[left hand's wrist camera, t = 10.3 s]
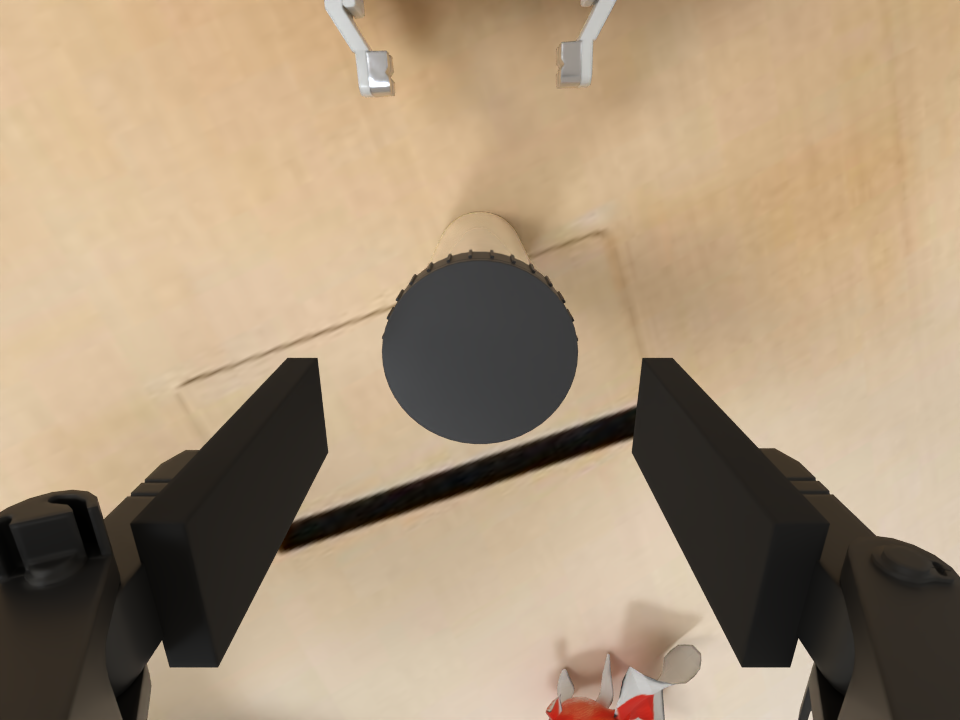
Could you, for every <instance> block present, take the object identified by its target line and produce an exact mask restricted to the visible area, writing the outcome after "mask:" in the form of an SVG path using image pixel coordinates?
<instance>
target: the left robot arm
mask: <svg viewBox="0 0 960 720" xmlns="http://www.w3.org/2000/svg"><path fill="white" fill-rule="evenodd" d="M327 454H328V446H327V437H326V428H325V420H324V411H323V402H322V393H321V385H320V376H319V367H318V358H287V359H286V360H285V361H284V362H283V363H282V364H281V365H280V366H279V367H278V369H277V370H276V371H275V372H274V373H273V374H272V375H271V376H270V377H269V378H268V379H267V380H266V381H265V382H264V383H263V384H262V385H261V386H260V387H259V388H258V389H257V391H256V392H255V393H254V394H253V395H252V396H251V397H250V398H249V399H248V400H247V401H246V402H245V403H244V404H243V405H242V406H241V407H240V408H239V409H238V410H237V412H236V413H235V414H234V415H233V416H232V417H231V418H230V419H229V420H228V421H227V422H226V423H225V424H224V425H223V426H222V427H221V428H220V429H219V430H218V431H217V433H216V434H215V435H214V436H213V437H212V438H211V439H210V440H209V441H208V442H207V443H206V444H205V445H204V446H203V447H202V448H201V449H200V450H185V451H183V452H182V453H180V454H178V455H176V456H174V457H173V458H171V459H169V460H167V461H166V462H164V463H162V464H161V465H160V466H159V467H158V468H157V469H156V470H154V471H153V472H152V473H151V474H150V475H149V476H148V477H147V478H146V479H145V483H141V484H140V485H139V486H138V487H137V488H136V489H135V490H134V491H133V492H132V493H131V497H127V498H125V499H124V500H123V501H122V502H121V503H120V504H119V505H118V506H117V507H116V508H115V509H114V510H113V511H112V512H111V513H110V514H109V515H108V516H107V517H106V518H105V519H103V516H102V513H101V509H100V506H99V502H98V499H97V497H96V496H94V495H93V494H91V493H90V492H88V491H79V490H67V491H58V492H51V493H48V494H44V495H40V496H37V497H33V498H29V499H27V500H25V501H22V502H20V503H18V504H15V505H13V506H11V507H8V508H6V509H5V510H3V511H2V512H0V720H147V716H148V709H149V701H150V693H151V680H150V674H149V671H148V667H147V662H148V661H149V659H150V658H151V656H152V655H153V653H154V651H155V650H156V648H157V647H158V645H159V644H160V642H161V641H163V645H164V648H165V652H166V656H167V659H168V663H169V666H170V667H218V666H219V665H220V663H221V661H222V659H223V657H224V655H225V653H226V651H227V649H228V647H229V645H230V643H231V641H232V639H233V637H234V635H235V633H236V631H237V629H238V627H239V625H240V624H241V622H242V620H243V618H244V616H245V614H246V612H247V610H248V608H249V606H250V604H251V602H252V600H253V598H254V596H255V594H256V592H257V590H258V588H259V586H260V585H261V583H262V581H263V579H264V577H265V575H266V573H267V571H268V569H269V567H270V565H271V563H272V561H273V559H274V557H275V555H276V553H277V551H278V549H279V547H280V545H281V544H282V542H283V540H284V538H285V536H286V534H287V532H288V530H289V528H290V526H291V524H292V522H293V520H294V518H295V516H296V514H297V512H298V510H299V508H300V506H301V504H302V503H303V501H304V499H305V497H306V495H307V493H308V491H309V489H310V487H311V485H312V483H313V481H314V479H315V477H316V475H317V473H318V471H319V469H320V467H321V465H322V463H323V462H324V460H325V458H326V456H327ZM632 454H633V456H634V458H635V460H636V462H637V463H638V465H639V467H640V469H641V471H642V473H643V475H644V477H645V479H646V481H647V483H648V485H649V487H650V489H651V491H652V493H653V495H654V497H655V499H656V501H657V503H658V504H659V506H660V508H661V510H662V512H663V514H664V516H665V518H666V520H667V522H668V524H669V526H670V528H671V530H672V532H673V534H674V536H675V538H676V540H677V542H678V544H679V545H680V547H681V549H682V551H683V553H684V555H685V557H686V559H687V561H688V563H689V565H690V567H691V569H692V571H693V573H694V575H695V577H696V579H697V581H698V583H699V585H700V586H701V588H702V590H703V592H704V594H705V596H706V598H707V600H708V602H709V604H710V606H711V608H712V610H713V612H714V614H715V616H716V618H717V620H718V622H719V624H720V625H721V627H722V629H723V631H724V633H725V635H726V637H727V639H728V641H729V643H730V645H731V647H732V649H733V651H734V653H735V655H736V657H737V659H738V661H739V663H740V665H741V666H742V667H790V666H791V663H792V659H793V656H794V652H795V648H796V645H797V641H798V638H799V639H800V641H801V643H802V644H803V646H804V647H805V649H806V650H807V652H808V653H809V655H810V656H811V658H812V659H813V661H814V664H813V667H812V670H811V674H810V677H809V681H808V684H807V687H806V691H805V694H804V697H803V701H802V704H801V707H800V712H799V718H798V720H808V717H809V714H810V711H812V714H813V720H960V577H959V576H958V574H957V573H956V572H955V571H954V569H953V568H952V567H950V566H949V565H948V564H946V563H945V562H943V561H942V560H941V559H939V558H938V557H937V556H935V555H933V554H931V553H929V552H927V551H925V550H923V549H921V548H919V547H917V546H915V545H912V544H909V543H906V542H903V541H900V540H896V539H893V538H887V537H879V536H876V535H875V534H874V533H873V532H872V531H871V530H869V529H868V528H867V527H866V526H865V525H864V524H863V523H862V522H861V521H860V520H859V519H858V518H857V517H856V516H855V515H854V514H853V513H852V512H851V511H850V510H849V509H848V508H847V507H845V506H844V505H843V504H842V503H841V502H840V501H839V500H838V499H837V498H836V497H835V496H834V495H830V493H829V490H828V489H827V488H826V487H825V486H824V485H823V484H822V483H820V482H819V481H816V478H815V477H814V476H813V475H812V474H811V473H810V472H809V471H808V470H807V469H806V468H805V467H804V466H803V465H802V464H801V463H800V462H798V461H796V460H795V459H793V458H791V457H789V456H787V455H786V454H784V453H782V452H780V451H778V450H777V449H775V448H758V447H757V446H756V445H755V444H754V443H753V442H752V441H751V440H750V439H749V438H748V437H747V436H746V435H745V434H744V433H743V431H742V430H741V429H740V428H739V427H738V426H737V425H736V424H735V423H734V422H733V421H732V420H731V419H730V418H729V417H728V416H727V415H726V414H725V413H724V412H723V410H722V409H721V408H720V407H719V406H718V405H717V404H716V403H715V402H714V401H713V400H712V399H711V398H710V397H709V396H708V395H707V394H706V393H705V392H704V391H703V389H702V388H701V387H700V386H699V385H698V384H697V383H696V382H695V381H694V380H693V379H692V378H691V377H690V376H689V375H688V374H687V373H686V372H685V371H684V370H683V369H682V367H681V366H680V365H679V364H678V363H677V362H676V361H675V360H674V359H673V358H642V367H641V376H640V385H639V393H638V402H637V411H636V420H635V428H634V437H633V446H632Z"/></svg>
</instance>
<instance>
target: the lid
mask: <svg viewBox="0 0 960 720" xmlns="http://www.w3.org/2000/svg"><path fill="white" fill-rule="evenodd" d="M396 301H398V302H397V304H396V306H395V307H393V308H392V309H391V311H390V313H389V314H388V316H387V319H388V322H387V325H386V328H385V332H384V334H383V336H382V339H383V345H382V359H383V367H384V372H385V376H386V379H387V382H388V385H389V387H390V389H391V391H392V393H393V395H394V397H395V398H396V400H397V401H398V403H399V404H400V406H401V407H402V408H403V409H404V410H405V411H406V413H407V414H408V415H409V416H410V417H411V418H413V419H414V420H415V421H416V422H417V423H418V424H420V425H421V426H423V427H424V428H426V429H427V430H429V431H431V432H433V433H435V434H437V435H439V436H441V437H444V438H447V439H450V440H453V441H458V442H462V443H470V444H490V443H498V442H502V441H507V440H510V439H513V438H516V437H519V436H521V435H523V434H525V433H527V432H529V431H531V430H533V429H534V428H536V427H537V426H539V425H540V424H542V423H543V422H544V421H545V420H546V419H548V418H549V417H550V416H551V415H552V414H553V413H554V411H555V410H556V409H557V408H558V407H559V406H560V404H561V403H562V401H563V400H564V398H565V397H566V395H567V393H568V391H569V389H570V387H571V385H572V382H573V379H574V376H575V372H576V367H577V359H578V345H577V341H578V338H577V336H576V332H575V328H574V325H573V321H574V319H573V317H572V315H571V313H570V312H569V310H568V309H566V307H565V305H564V303H565V300H564V298H563V297H562V295H561V293H560V292H559V291H558V292H556V290H555V289H554V288H553V285H552V283H551V281H550V280H549V278H548V277H547V276H545V277H544V276H543V275H542V274H540V273H539V272H538V271H537V270H535V269H534V267H533V265H532V264H531V263H530V264H529V265H528V264H526V263H524V262H523V261H520V260H518V259H516V258H515V257H514V255H512V254H511V255H510V256H507V255H504V254H500V253H494V251H493V250H490V252H472V249H471V250H469V252H466V253H460V254H456V255H453V256H452V254H448V257H447V258H444V259H442V260H440V261H437V262H436V263H434V264H433V262H431V263H429V265H428V267H427V268H426V269H425V270H423V271H422V272H421V273H420V274H418V275H416V274H415V275H414V276H413V277H412V279H411V281H410V283H409V285H408V286H407V288H406V289H405V290H403V289H402V290H401V292H400V293H399V295H398V297H397V299H396Z"/></svg>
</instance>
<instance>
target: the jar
mask: <svg viewBox="0 0 960 720" xmlns="http://www.w3.org/2000/svg"><path fill="white" fill-rule="evenodd" d="M471 249H472V252H490V250H493V251H494V253H500V254H504V255H507V256H510V255H511V254H512V255H514V257H515V258H516V259H518V260H520V261H523V262H524V263H526V264H528V265H529V264H530V263H531V262H530V259H529V257H528V255H527V253H526V251H525V249H524V247H523V245H522V243H521V241H520V239H519V236H518V235H517V233H516V231H515V230H514V228H513V227H512V226H511V225H510V224H509V223H508V222H507V221H506V220H504V219H503V218H501V217H499V216H497V215H495V214H492V213H487V212H473V213H468V214H465V215H463V216H461V217H459V218H457V219H456V220H454V221H453V222H452V223H451V224H450V225H449V226H448V227H447V228H446V230H445V231H444V233H443V235H442V236H441V239H440V241H439V243H438V245H437V247H436V249H435V251H434V253H433V255H432V257H431V259H430V262H429V263H431V262H433V264H434V263H436V262H437V261H440V260H442V259H444V258H447V257H448V254H452V256H453V255H456V254H460V253H466V252H469V250H471ZM428 265H429V264H428ZM427 267H428V266H427Z"/></svg>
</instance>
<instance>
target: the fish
mask: <svg viewBox="0 0 960 720" xmlns="http://www.w3.org/2000/svg"><path fill="white" fill-rule="evenodd" d="M700 666H701V653H700V652H699V651H698V650H697V649H696V648H695V647H694V646H693V645H678V646H676V647H675V648H674V649H672V650H671V651H670V652H669V653H668V654H667V655H666V656H665V657H664V664H663V670H662V673H661V675H660V677H659V679H658V680H655V679H652V678H650V677H647V676H645V675H643V674H641V673H640V672H638V671H637V670H635V669H633V668H632V667H630V666H629V669H628V671H627V673H626V675H625V677H624V679H623V681H622V687H621V692H620V697H619V700H618V703H617V706H616V709H615V710H612V709H608V708H609V706H610V705H611V703H612V701H613V685H612V677H611V667H610V655H609V654H607V657H606V662H605V666H604V670H603V674H602V681H601V689H600V694H599V697H598V699H597V700H596V701H594V700H592V699H589V698H584V697H572V696H573V693H574V685H573V683H572V681H571V679H570V677H569V675H568V672H567V670H566V669H563V670H562V671H561V674H560V677H559V680H558V685H557V694H558V697H557V698H556V699H555V700H554V701H552V703H551V704H550V705H549V706H548V708H547V710H546V714H547V715H548V716H549V720H665V717H664V704H663V689H664V688H666V687H668V686H671V685H675V684H681V683H687V682H688V681H689V680H691V679H692V678H693V677H694V676H695V675H696V674H697V672H698V671H699V670H700Z"/></svg>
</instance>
